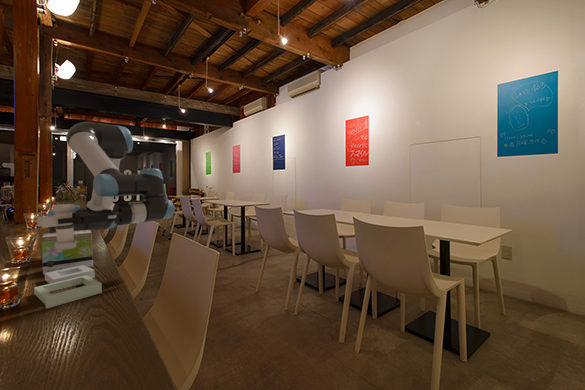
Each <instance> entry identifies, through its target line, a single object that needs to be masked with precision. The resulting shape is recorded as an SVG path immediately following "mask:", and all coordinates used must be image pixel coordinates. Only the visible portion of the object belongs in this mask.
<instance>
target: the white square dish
mask: <svg viewBox="0 0 585 390" xmlns="http://www.w3.org/2000/svg"><path fill="white" fill-rule="evenodd" d="M85 275H87V276H89V277H91V278H93V279H95V278H96V271H95V269H93V268H92V267H87V266H85V265H81V266H76V267H71V268H66V269H62V270H57V271H52V272H48V273H45V275H44V281H45V282H47V284H51V283H55V282H59V281H63V280H68V279H72V278H76V277H80V276H85Z"/></svg>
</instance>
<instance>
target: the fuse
mask: <svg viewBox="0 0 585 390" xmlns="http://www.w3.org/2000/svg"><path fill="white" fill-rule="evenodd" d="M74 206H75V204H74V203H65V204H64V203H63V204H53V205H51V208H52V209H51V210H52V212H55V217H57V216H68V215H71V218H72V211H74ZM55 227H56V238H57V242H55V250H66V249H72V248H75V247H77V245H76V240H74V231H73V223H72V225H63V226H55Z"/></svg>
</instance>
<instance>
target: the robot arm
mask: <svg viewBox="0 0 585 390" xmlns="http://www.w3.org/2000/svg"><path fill="white" fill-rule="evenodd" d="M65 137H66V138H65V139H66V143H67V146H69V148H70V149H71V150H72V151H73V152H74V153H76V154H78V155H79V157H80V159H81V160H82V161H83V162H84V164H85V165H86V167H87V168H88V170H89V171H90V172H91V174H92V175H93V176H94V178H93V184H92V186H93V187H92V193H91V199H90V200H89V201H87V202H86V205H85V207H80V205H78V204H77V205H76V204H75V205H74V211H72V218H71V215H68V216H57V217H55V212H52V209H49V210H48V211H47V214H46V215H45V216H44V215H43V216H37V218H36V220H37V227H41V228H42V229H44V228H47V234H48V233H56V227H55V226H63V225H72V223H73V231H82V230H90V231H91V232H97V231H105V230H111V229H113V228H115V227H116V226H124V225H125V226H126V225H130V224H136V225H140V223H147V222H155V221H163V220H168V219H170V218H173V216H174V214H175V204H174V203H173V201H172V200H171V199H167V198H166V197H167V196H166V194H165V185H164V177H163V173H162V171H161V170H160V169H159V168H153V167H152V168H143V169H141V170H140V171H139V174H133V173H131V174H126V173H125V174H124V173H122V172H121V171H120V165H121V161H122V160H123V159H125V157H126V154H128V153H131V152H132V150H133V148H134V139H133V136H132V133H131V131H130V129H128V128H127V127H125V126H122V125H117V124H111V123H109V124H108V123H101V122H100V123H99V122H94V121H82V122H79V123H76V124H73V126H71V127H70V128H69V130H67V132H66V136H65ZM127 196H142V199H143V201H130V202H120V203H119V202H117V203H114V202H113V201H114V197H127Z"/></svg>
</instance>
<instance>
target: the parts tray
mask: <svg viewBox="0 0 585 390" xmlns="http://www.w3.org/2000/svg"><path fill="white" fill-rule="evenodd" d="M78 285H82V286H78ZM74 286H78V287H76V288H72V289H71V288H70V287H74ZM66 288H67V290H63V291H60V292H56V293H51V292H55V291H58V290H62V289H66ZM68 288H70V289H68ZM102 289H103V286H102V282H101V281H99V280H97V279H95V278H91V277H89V276H87V275H85V276H80V277H76V278H72V279H68V280H63V281H59V282H55V283H51V284H49V283H46V284H43V285H38V286H35V287H33V290H34V295H35V296H36V298H38V299H39V300H40V301H41V302H42V304H43V305H42V306H43V307H44V309H46V310H47V309H50V308H54V307H57V306H61V305H65V304H68V303H70V302H74V301H78V300H80V299H85V298H89V297H91V296H94V295H95V296H96V295H98V294H102V293H103V290H102Z"/></svg>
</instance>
